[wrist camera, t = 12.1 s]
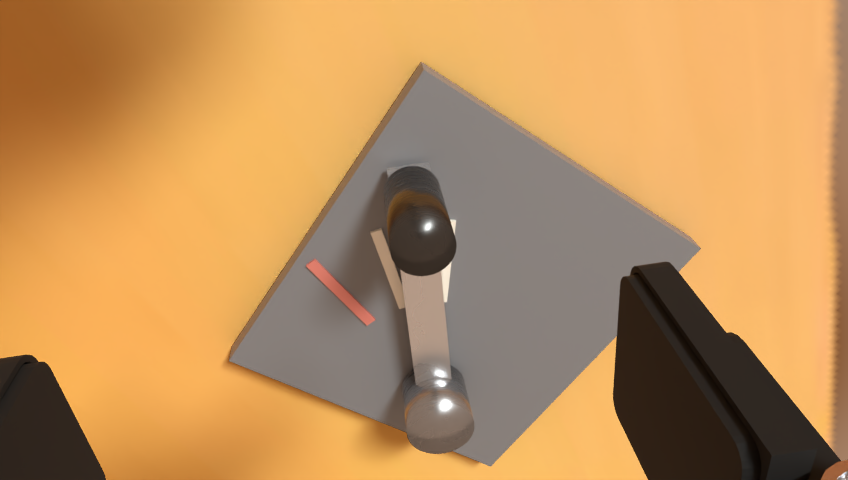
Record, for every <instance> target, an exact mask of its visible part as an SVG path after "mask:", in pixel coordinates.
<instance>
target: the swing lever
mask: <svg viewBox="0 0 848 480" xmlns="http://www.w3.org/2000/svg"><path fill="white" fill-rule="evenodd" d="M387 175H388V179H387V181H386V182H385V185H384V188H383V198H384V206H385V214H386V222H387V230H388V238H389V246H390V254H391V257H392V260H393V262H394V263H395V265H396V266H397V267H398V268H399V269H400V271H401V279H402V286H403V294H404V301H405V309H406V316H407V324H408V331H409V338H410V346H411V353H412V361H413V368H414V370H412V371H411V372H410V373H409V374H408V375H407V376H406V378H405V379H404V381H403V384H402V395H403V404H404V412H405V421H406V430H407V437H408V439H409V441H410V443H411V444H412V445H413V446H414V447H415V448H417V449H418V450H420V451H423V452H426V453H432V454H441V453H447V452H451V451H454V450H456V449H458V448H460V447H461V446H463V445H464V444H465V443H467V442H468V441H469V439H470V438H471V436H472V435H473V432H474V420H473V415H472V411H471V407H470V403H469V398H468V394H467V390H466V385H465V381H464V378H463V375H462V374H461V372H460V371H459V370H458V369H456V368H455V367H453V366H451V365H450V357H449V347H448V337H447V326H446V316H445V306H444V295H443V285H442V275H441V271H442V270H443V269H444V268H446V267H447V266H448V265H449V264H450V263H451V261H452V260H453V258H454V256H455V253H456V248H457V243H456V238H455V235H454V232H453V228H452V225H451V221H450V218H449V215H448V211H447V208H446V204H445V201H444V198H443V194H442V191H441V187H440V184H439V181H438V179H437V178H436V176H435V175H434V174H433V173H432V172H431V169H430V165H429V162H426V163H418V164H411V165H403V166H395V167H388V168H387Z"/></svg>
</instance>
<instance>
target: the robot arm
mask: <svg viewBox="0 0 848 480" xmlns="http://www.w3.org/2000/svg"><path fill="white" fill-rule="evenodd" d="M613 400H614V406H615V410H616V414H617V416H618V419H619V421H620V423H621V425H622V427H623V429H624V431H625V433H626V435H627V437H628V439H629V441H630V443H631V445H632V447H633V449H634V452H635V454H636V456H637V458H638V460H639V462H640V464H641V466H642V468H643V470H644V472H645V474H646V476H647V478H648V480H848V460H844V461H841V460H840V459H839V458H838V457H837V455H836V454H835V453H834V452H833V450H832V449H831V448H830V447H829V445H828V444H827V443H826V442H825V441H824V439H823V438H822V437H821V436H820V434H819V433H818V432H817V431H816V429H815V428H814V427H813V426H812V424H811V423H810V422H809V421H808V420H807V418H806V417H805V416H804V415H803V413H802V412H801V411H800V410H799V408H798V407H797V406H796V405H795V404H794V402H793V401H792V400H791V399H790V397H789V396H788V395H787V394H786V392H785V391H784V390H783V389H782V388H781V386H780V385H779V384H778V383H777V381H776V380H775V379H774V378H773V376H772V375H771V374H770V373H769V372H768V370H767V369H766V368H765V367H764V365H763V364H762V363H761V362H760V360H759V359H758V358H757V357H756V356H755V354H754V353H753V352H752V351H751V349H750V348H749V347H748V346H747V344H746V343H745V342H744V341H743V340H742V339H741V338H740V337H739V336H738V335H736V334H734V333H731V332H730V333H726V332H725V331H724V329H723V328H722V327H721V326H720V324H719V323H718V322H717V321H716V319H715V318H714V317H713V315H712V314H711V313H710V312H709V310H708V309H707V308H706V307H705V305H704V304H703V303H702V302H701V300H700V299H699V298H698V296H697V295H696V294H695V293H694V291H693V290H692V289H691V288H690V286H689V285H688V284H687V283H686V281H685V280H684V279H683V277H682V276H681V275H680V274H679V272H678V271H677V270H676V269H675V267H674V266H673V265H672V264H671V263H670V262H659V263H652V264H646V265H639V266H634V267H633V268H632V269H631V272H630V276H624V277H622V279H621V282H620V294H619V310H618V326H617V342H616V358H615V373H614V389H613ZM0 480H106V478H105V474H104V472H103V470H102V468H101V466H100V464H99V462H98V460H97V458H96V456H95V454H94V452H93V450H92V448H91V446H90V445H89V443H88V441H87V439H86V437H85V435H84V433H83V431H82V429H81V427H80V425H79V423H78V421H77V419H76V417H75V415H74V413H73V411H72V409H71V407H70V406H69V404H68V402H67V400H66V398H65V396H64V394H63V392H62V390H61V388H60V386H59V384H58V382H57V380H56V378H55V376H54V374H53V372H52V370H51V368H50V367H49V366H48V364H46V363H45V362H38V361H37V359H36V358H35V357H33V356H32V355H21V356H14V357H7V358H1V359H0Z"/></svg>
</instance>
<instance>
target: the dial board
mask: <svg viewBox="0 0 848 480" xmlns="http://www.w3.org/2000/svg"><path fill="white" fill-rule="evenodd" d="M426 162H429V165H430V169H431V172H432V173H433V174H434V175H435V176H436V178H437V179H438V181H439V184H440V187H441V191H442V194H443V198H444V201H445V204H446V208H447V211H448V215H449V218H450V221H451V225H452V228H453V232H454V235H455V238H456V243H457V248H456V253H455V256H454V258H453V260H452V261H451V263H450V264H449V265H448V266H447V267H446V268H444V269H443V270H442V271H441V275H442V285H443V295H444V306H445V316H446V326H447V337H448V347H449V357H450V365H451V366H453V367H455V368H456V369H458V370H459V371H460V372H461V374H462V375H463V378H464V381H465V385H466V390H467V394H468V398H469V403H470V407H471V411H472V415H473V420H474V432H473V435H472V436H471V438H470V439H469V441H468V442H467V443H465V444H464V445H463V446H461V447H460V448H458V449H456V450H454V452H456V453H459V454H461V455H463V456H466V457H468V458H471V459H473V460H476V461H478V462H481V463H483V464H486V465H488V466H492V465H493V464H494V462H495V461H496V460H497V459H498V458H499V457H500V456H501V455H502V454H503V453H504V452H505V451H506V450H507V449H508V448H509V447H510V446H511V445H512V444H513V443H514V442H515V441H516V440H517V439H518V438H519V437H520V436H521V435H522V433H523V432H524V431H525V430H526V429H527V428H528V427H529V426H530V425H531V424H532V423H533V422H534V421H535V420H536V419H537V418H538V417H539V416H540V415H541V414H542V413H543V412H544V411H545V410H546V409H547V408H548V407H549V405H550V404H551V403H552V402H553V401H554V400H555V399H556V398H557V397H558V396H559V395H560V394H561V393H562V392H563V391H564V390H565V389H566V388H567V387H568V386H569V385H570V384H571V383H572V382H573V381H574V380H575V379H576V378H577V376H578V375H579V374H580V373H581V372H582V371H583V370H584V369H585V368H586V367H587V366H588V365H589V364H590V363H591V362H592V361H593V360H594V359H595V358H596V357H597V356H598V355H599V354H600V353H601V352H602V351H603V350H604V348H605V347H606V346H607V345H608V344H609V343H610V342H611V341H612V340H613V339H614V338H615V337H616V336H617V326H618V310H619V294H620V282H621V279H622V277H624V276H630V272H631V269H632V268H633V267H634V266H639V265H646V264H652V263H659V262H670V263H671V264H672V265H673V266H674V267H675V269H676V270H677V271H678V272H679V271H680V270H681V269H682V268H683V267H684V266H685V265H686V264H687V262H688V261H689V260H690V259H691V258H692V257H693V256H694V255H695V254H696V253H697V252H698V251H699V250H700V249H701V248H700V247H699V246H698V245H697V244H696V243H695V242H694V240H693V239H692V238H691V237H690V236H688V235H686V234H685V233H683V232H682V231H680V230H679V229H677V228H676V227H674V226H673V225H671V224H670V223H668V222H666V221H665V220H663V219H662V218H660V217H659V216H657V215H656V214H654V213H653V212H651V211H650V210H648V209H647V208H645V207H643V206H642V205H640V204H639V203H637V202H636V201H634V200H633V199H631V198H630V197H628V196H627V195H625V194H623V193H622V192H620V191H619V190H617V189H616V188H614V187H613V186H611V185H610V184H608V183H607V182H605V181H604V180H602V179H600V178H599V177H597V176H596V175H594V174H593V173H591V172H590V171H588V170H587V169H585V168H584V167H582V166H580V165H579V164H577V163H576V162H574V161H573V160H571V159H570V158H568V157H567V156H565V155H564V154H562V153H561V152H559V151H557V150H556V149H554V148H553V147H551V146H550V145H548V144H547V143H545V142H544V141H542V140H541V139H539V138H537V137H536V136H534V135H533V134H531V133H530V132H528V131H527V130H525V129H524V128H522V127H521V126H519V125H517V124H516V123H514V122H513V121H511V120H510V119H508V118H507V117H505V116H504V115H502V114H501V113H499V112H498V111H496V110H494V109H493V108H491V107H490V106H488V105H487V104H485V103H484V102H482V101H481V100H479V99H478V98H476V97H474V96H473V95H471V94H470V93H468V92H467V91H465V90H464V89H462V88H461V87H459V86H458V85H456V84H455V83H453V82H451V81H450V80H448V79H447V78H445V77H444V76H442V75H441V74H439V73H438V72H436V71H435V70H433V69H431V68H430V67H428V66H427V65H425V64H424V63H422V62H421V63H420V64H419V66H418V67H417V69H416V70H415V72H414V73H413V75H412V76H411V78H410V79H409V81H408V82H407V84H406V85H405V87H404V88H403V90H402V91H401V93H400V94H399V96H398V97H397V99H396V100H395V102H394V103H393V105H392V106H391V108H390V109H389V111H388V112H387V114H386V115H385V117H384V118H383V120H382V121H381V123H380V124H379V126H378V127H377V129H376V130H375V132H374V133H373V135H372V136H371V138H370V139H369V141H368V142H367V144H366V145H365V147H364V148H363V150H362V151H361V153H360V154H359V156H358V157H357V159H356V160H355V162H354V163H353V165H352V166H351V168H350V169H349V171H348V172H347V174H346V176H345V177H344V179H343V180H342V182H341V183H340V185H339V186H338V188H337V189H336V191H335V192H334V194H333V195H332V197H331V198H330V200H329V201H328V203H327V204H326V206H325V207H324V209H323V210H322V212H321V213H320V215H319V216H318V218H317V219H316V221H315V222H314V224H313V225H312V227H311V228H310V230H309V231H308V233H307V234H306V236H305V237H304V239H303V240H302V242H301V243H300V245H299V246H298V248H297V249H296V251H295V252H294V254H293V255H292V257H291V258H290V260H289V261H288V263H287V264H286V266H285V267H284V269H283V270H282V272H281V273H280V275H279V276H278V278H277V279H276V281H275V282H274V284H273V285H272V287H271V288H270V290H269V291H268V293H267V294H266V296H265V297H264V299H263V300H262V302H261V303H260V305H259V306H258V308H257V309H256V311H255V312H254V314H253V315H252V317H251V318H250V320H249V321H248V323H247V324H246V326H245V327H244V329H243V330H242V332H241V333H240V335H239V336H238V338H237V339H236V341H235V342H234V344H233V345H232V348H231V353H230V358H229V361H230V362H233V363H235V364H238V365H240V366H243V367H245V368H248V369H250V370H253V371H255V372H258V373H260V374H263V375H265V376H268V377H270V378H273V379H275V380H277V381H280V382H282V383H285V384H287V385H290V386H292V387H295V388H297V389H300V390H302V391H305V392H307V393H310V394H312V395H315V396H317V397H320V398H322V399H325V400H327V401H330V402H332V403H335V404H337V405H339V406H342V407H344V408H347V409H349V410H352V411H354V412H357V413H359V414H362V415H364V416H367V417H369V418H372V419H374V420H377V421H379V422H382V423H384V424H387V425H389V426H392V427H394V428H397V429H399V430H401V431H404V432H406V433H407V430H406V421H405V412H404V404H403V395H402V384H403V381H404V379H405V378H406V376H407V375H408V374H409V373H410V372H411V371H412V370H414V368H413V361H412V353H411V346H410V338H409V331H408V324H407V316H406V309H405V301H404V294H403V286H402V279H401V271H400V269H399V268H398V267H397V266H396V265H395V263H394V262H393V260H392V257H391V254H390V246H389V238H388V230H387V222H386V214H385V206H384V198H383V188H384V185H385V182H386V181H387V179H388V175H387V168H388V167H395V166H403V165H411V164H418V163H426Z"/></svg>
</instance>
